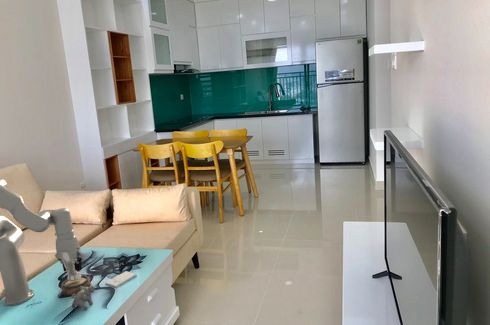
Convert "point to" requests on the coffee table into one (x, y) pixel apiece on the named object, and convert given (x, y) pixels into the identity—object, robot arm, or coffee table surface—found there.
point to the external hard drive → (121, 279)
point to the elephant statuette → (83, 297)
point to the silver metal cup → (70, 267)
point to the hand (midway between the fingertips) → (73, 269)
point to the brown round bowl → (75, 285)
